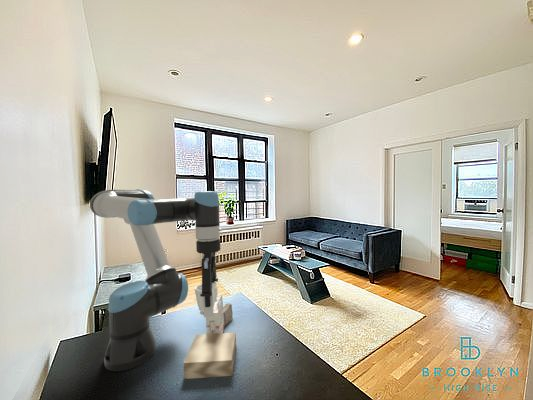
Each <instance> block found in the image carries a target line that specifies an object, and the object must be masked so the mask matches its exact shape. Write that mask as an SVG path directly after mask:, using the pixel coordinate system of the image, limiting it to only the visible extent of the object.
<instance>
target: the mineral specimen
mask: <svg viewBox="0 0 533 400" xmlns="http://www.w3.org/2000/svg"><path fill="white" fill-rule="evenodd" d="M223 315H224V328H225V327H226V326H227V324H228V323H229V322H230V321H232V320H233V306H232V303H231V302H226V304H225V305H223Z"/></svg>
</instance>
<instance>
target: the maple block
mask: <svg viewBox="0 0 533 400" xmlns="http://www.w3.org/2000/svg"><path fill="white" fill-rule="evenodd" d="M236 351H237V332H223V333H219V334H207V333H206V334H205V333H203V334H195V335H194V338H193V340H192V343H191V346H190V348H189V349H188V352H187V354H186V356H185V359H184V361H183V380H188V379H191V380H192V379H201V378H202V379H204V378H216V377H217V378H218V377H231V376H233V373H234V364H235V358H236V357H235V356H236Z"/></svg>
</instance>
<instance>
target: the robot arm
mask: <svg viewBox="0 0 533 400" xmlns="http://www.w3.org/2000/svg"><path fill="white" fill-rule="evenodd" d="M219 199H220V198H219V193H218V192H217V191H213V190H212V191H211V190H208V191H207V190H206V191H196V192H195V193H194V197H191V198H189V197H188V198H187V197H184V198H183V197H182V198H155V197H154V195H153V194H152V193H151V191H148V190H145V189H138V188H137V189H106V190H102V191H99V192H97V193H96V194H94V195H93V196H92V198H91V199H90V201H89V208H90V210H91V212H92V213H93V214H94V215H95V216H97V217H100V218H105V219H106V218H107V219H109V218H118V219H123V222H124V223H125V224H126V225H130V228H131V232H132V233H133V237H134V240H135V242H136V243H135V244H136V245H137V249H138V252H139V255H140V257H141V261H142V263H143V267H144V269H145V271H146V275H147V276H146V278H145V280H138V281H137V280H136V281H135V282H134V281H131V282H129V283H125V284H123V285H121V286H120V287H117V288H116V289H114V290H113V291H112V292H110V293H111V294H110V295H109V297H108V306H107V310H108V321H109V322H108V324H109V325H108V326H109V340H108V341H109V342H108V344H107V347H106V350H105V353H104V358H103V361H104V363H103V364H104V368H105V369H106V370H108V371H110V372H123V371H127V370H131V369H135V368H136V367H139V366H140V365H142V364H144V363H145V362H147V361H148V360H149V359H151V357H153V355H154V354H155V353H156V350H157V341H156V338H155V336H154V334H153V331H152V329H151V326H150V318H152V317H154V316H157V315H158V314H161V313H163V312H166V311H167V310H170V309H173V308H176V307H177V306H179V305H180V304H182V303H184V301H185V300H186V299H187V297H188V293H189V283H188V279H187V277H186V275H185V274H184V273H182V272H178V271H177V269H176V267H174V266H171V265H170V263H169V260H168V257H167V255H166V252H165V250H164V247H163V244H162V242H161V239H160V236H159V234H158V231H157V228H156V226H155V225H156V224H163V223H164V224H165V223H173V222H175V223H176V222H183V221H195V239H196V241H195V245H196V252H197V253H198V254H203V257H202V259H201V284H202V294H200V296H202V297H203V305H204V315H203V318H206V317H213V294H212V283H214V284H217V282H219V278H217V276H218V275H217V267H216V266H217V263H216V261H217V256H216V253H217V252H219V251H220V250H221V249H222V248H221V240H220V237H221V232H222V230H223V229H222V228H221V227H220V226H221V225H220V224H221V223H220V200H219ZM215 302H218V300H217V299H216V301H215Z"/></svg>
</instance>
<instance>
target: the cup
mask: <svg viewBox="0 0 533 400" xmlns="http://www.w3.org/2000/svg"><path fill="white" fill-rule="evenodd" d="M194 294H195V297H196V302H197V307H198V310H199V314H200V315H201V316H204V305H203V297H202V296H200V294H202V283H200V284H198V285H196V286H195V288H194ZM212 294H213V308H214V304H215V301H216V299H217V298H218V285H217V283H216V284H214V283H212ZM213 311H214V309H213Z"/></svg>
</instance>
